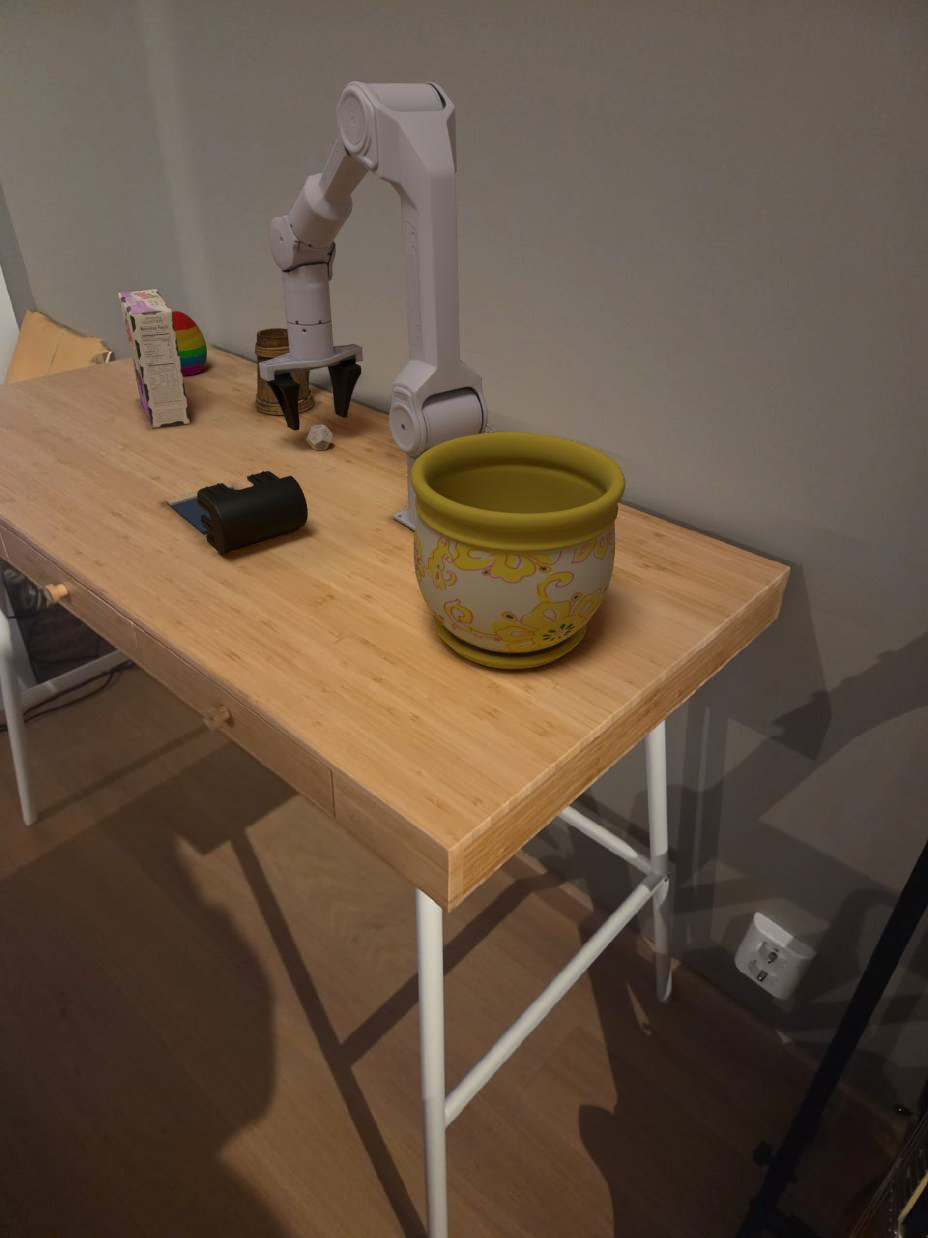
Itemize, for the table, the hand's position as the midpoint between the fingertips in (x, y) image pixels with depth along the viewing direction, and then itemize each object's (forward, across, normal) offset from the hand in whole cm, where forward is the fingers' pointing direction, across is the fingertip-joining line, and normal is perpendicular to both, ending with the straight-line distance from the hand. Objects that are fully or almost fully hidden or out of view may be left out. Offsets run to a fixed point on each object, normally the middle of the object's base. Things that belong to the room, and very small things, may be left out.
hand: (317, 421), depth 114 cm
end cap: (+4, +20, +19) cm, 28 cm away
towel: (+4, +20, +9) cm, 22 cm away
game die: (+4, 0, 0) cm, 4 cm away
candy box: (+4, +11, -27) cm, 29 cm away
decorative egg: (+4, 0, -44) cm, 44 cm away
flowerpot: (+4, +10, +50) cm, 51 cm away
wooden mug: (+4, -7, -18) cm, 20 cm away
